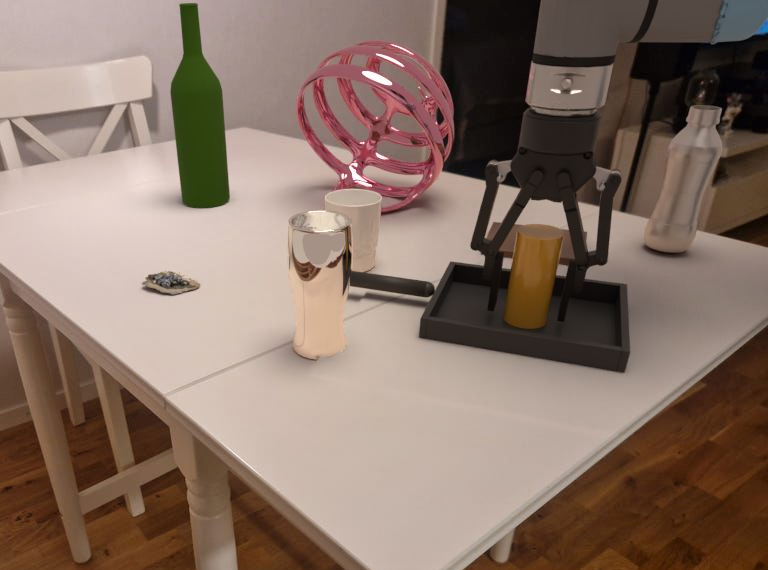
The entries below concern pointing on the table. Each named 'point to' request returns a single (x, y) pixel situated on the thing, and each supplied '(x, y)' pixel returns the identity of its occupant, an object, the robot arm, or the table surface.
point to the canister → (532, 275)
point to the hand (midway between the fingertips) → (526, 310)
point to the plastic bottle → (685, 181)
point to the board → (510, 239)
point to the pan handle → (392, 284)
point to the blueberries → (170, 282)
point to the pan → (551, 342)
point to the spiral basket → (380, 126)
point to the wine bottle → (198, 121)
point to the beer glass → (319, 279)
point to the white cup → (359, 222)
